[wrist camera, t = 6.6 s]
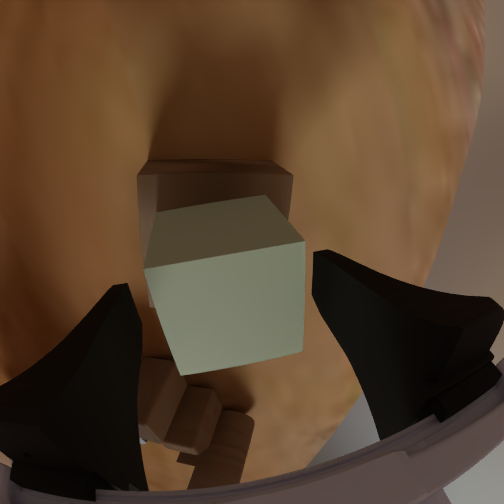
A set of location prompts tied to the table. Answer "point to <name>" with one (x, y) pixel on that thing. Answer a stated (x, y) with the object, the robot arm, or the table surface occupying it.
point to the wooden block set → (192, 424)
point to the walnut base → (206, 187)
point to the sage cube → (227, 283)
